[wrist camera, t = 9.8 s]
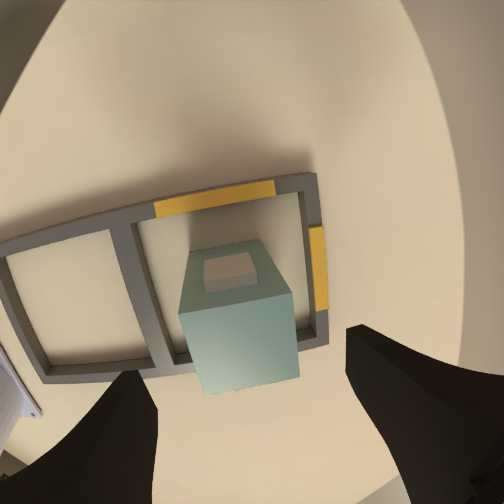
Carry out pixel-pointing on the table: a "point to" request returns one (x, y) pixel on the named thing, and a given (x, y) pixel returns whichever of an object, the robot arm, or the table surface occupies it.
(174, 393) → the table surface
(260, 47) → the table surface
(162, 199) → the dock
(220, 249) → the pale teal rectangular block
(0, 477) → the ammunition clip
